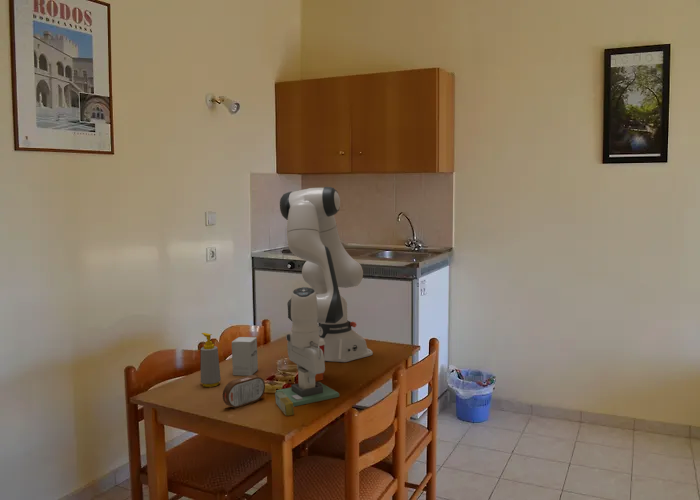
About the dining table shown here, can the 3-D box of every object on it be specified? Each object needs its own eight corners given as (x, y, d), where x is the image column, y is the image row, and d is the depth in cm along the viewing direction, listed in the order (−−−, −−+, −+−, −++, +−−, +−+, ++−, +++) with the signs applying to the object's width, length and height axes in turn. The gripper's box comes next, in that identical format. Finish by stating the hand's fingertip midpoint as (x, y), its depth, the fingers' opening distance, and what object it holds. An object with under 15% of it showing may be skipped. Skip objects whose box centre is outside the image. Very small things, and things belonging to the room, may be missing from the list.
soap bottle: (212, 380, 227) (210, 330, 225) (225, 383, 222) (222, 333, 220) (196, 385, 222) (193, 334, 220) (208, 389, 217) (206, 337, 215)
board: (319, 385, 218) (319, 376, 218) (339, 396, 206) (338, 387, 206) (276, 393, 210) (275, 384, 210) (293, 406, 198) (293, 396, 198)
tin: (261, 396, 208) (260, 371, 208) (267, 398, 206) (266, 373, 205) (222, 409, 198) (221, 382, 197) (228, 411, 196) (227, 384, 195)
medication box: (275, 404, 202) (274, 391, 201) (283, 402, 203) (282, 390, 202) (285, 417, 190) (285, 404, 190) (294, 415, 191) (293, 402, 191)
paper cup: (310, 374, 230) (309, 336, 229) (329, 376, 227) (328, 338, 226) (300, 381, 223) (299, 341, 222) (320, 383, 220) (319, 343, 219)
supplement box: (251, 376, 230) (250, 341, 229) (232, 375, 232) (230, 341, 230) (258, 370, 237) (257, 336, 236) (239, 369, 239) (238, 336, 238)
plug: (309, 388, 211) (309, 365, 210) (315, 392, 208) (315, 368, 207) (298, 391, 209) (297, 367, 208) (304, 394, 205) (303, 370, 205)
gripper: (329, 344, 199) (330, 387, 200) (300, 331, 216) (302, 371, 218) (310, 347, 196) (312, 390, 197) (283, 333, 213) (285, 374, 215)
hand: (306, 380), depth 208 cm, fingers open, 5 cm apart
